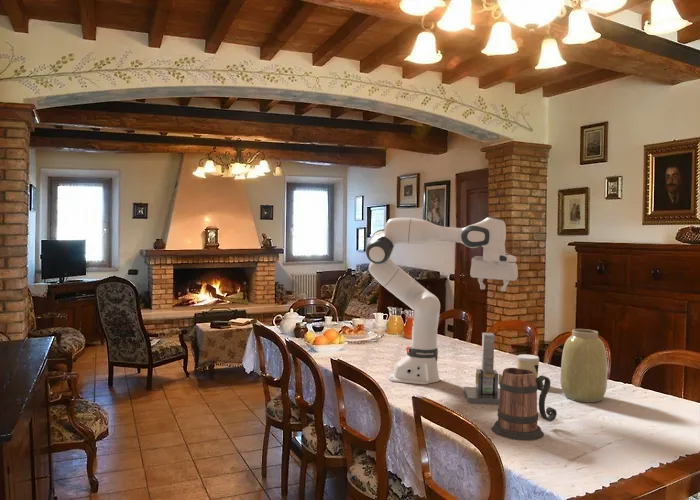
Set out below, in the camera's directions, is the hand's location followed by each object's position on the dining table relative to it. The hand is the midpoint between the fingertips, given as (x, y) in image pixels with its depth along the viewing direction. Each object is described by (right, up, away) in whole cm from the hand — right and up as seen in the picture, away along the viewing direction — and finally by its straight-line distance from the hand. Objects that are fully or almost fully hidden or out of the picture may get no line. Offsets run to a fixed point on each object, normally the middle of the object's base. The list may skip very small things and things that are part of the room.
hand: (492, 290), depth 233 cm
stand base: (-5, -42, -9) cm, 43 cm away
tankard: (-1, -44, -46) cm, 63 cm away
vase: (+35, -43, -6) cm, 55 cm away
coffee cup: (+19, -42, +13) cm, 48 cm away
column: (-5, -40, -9) cm, 41 cm away
